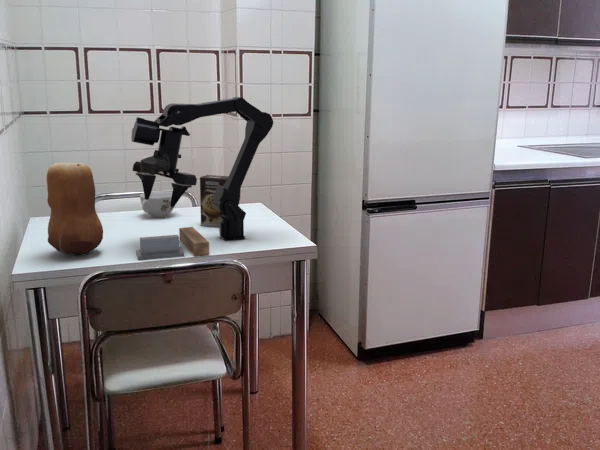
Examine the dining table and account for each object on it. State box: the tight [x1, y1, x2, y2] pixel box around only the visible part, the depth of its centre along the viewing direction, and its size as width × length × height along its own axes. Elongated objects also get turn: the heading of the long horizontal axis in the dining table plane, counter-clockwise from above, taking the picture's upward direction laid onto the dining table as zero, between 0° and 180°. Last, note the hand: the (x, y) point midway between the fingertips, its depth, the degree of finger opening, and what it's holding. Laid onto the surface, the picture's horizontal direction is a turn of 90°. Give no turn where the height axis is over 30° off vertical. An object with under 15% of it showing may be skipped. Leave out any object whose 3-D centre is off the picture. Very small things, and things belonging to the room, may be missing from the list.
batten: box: [178, 226, 210, 257], centre depth 162 cm, size 4×18×4 cm, turn 24°
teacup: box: [139, 190, 175, 218], centre depth 198 cm, size 15×12×8 cm
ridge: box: [135, 234, 185, 261], centre depth 154 cm, size 12×6×5 cm, turn 111°
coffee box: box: [199, 174, 229, 228], centre depth 187 cm, size 9×6×16 cm
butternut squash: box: [46, 161, 104, 257], centre depth 152 cm, size 14×13×25 cm
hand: (159, 203), depth 162 cm, fingers open, 9 cm apart
